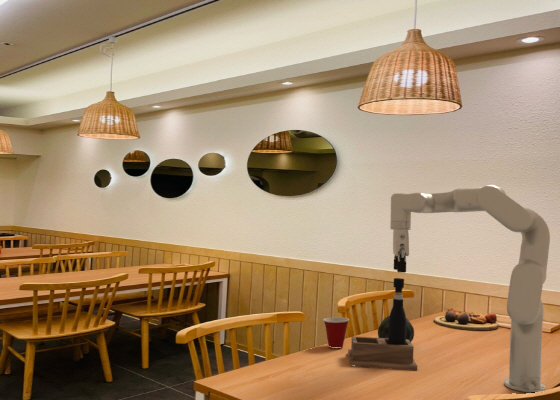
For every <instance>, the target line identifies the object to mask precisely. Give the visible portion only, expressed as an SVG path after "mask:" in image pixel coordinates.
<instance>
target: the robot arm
mask: <svg viewBox="0 0 560 400" xmlns="http://www.w3.org/2000/svg"><path fill="white" fill-rule="evenodd" d="M472 212H474V213H475V212H486V213H487V214H488V215H489V216H491V217H492V218H493V219H494V220H496V221H497V222H498V223H500V224H501V225H502V226H503V227H504V228H506V229H507V230H510V231H511V232H514V233H520V234H521V237H522V238H521V244H520V251H519V259H518V263H517V264H516V265H515V266H514V267H513V269H512V271H511V274H510V281H509V287H508V293H507V294H508V295H507V301H506V312H507V314H508V317H509V318H510V319H511V320H510V334H509V335H510V336H509V337H510V339H509V366H508V367H509V369H508V370H509V371H508V372H509V373H508V374H509V376H508V377H507V378H505V379H504V380H503V384H504V386H506V387H507V388H508V389H511V390H513V391H517V392H523V393H529V394H532V393H531V392H538V391H543V390H545V391H546V390H547V389H546V385H545V384H543V383H542V382H541V381H542V380H541V379H542V377H541V375H542V372H541V370H542V343H543V340H542V339H543V324H544V323H543V321H544V303H543V301H542V292H543V288H544V287H543V285H544V283H545V282H546V279H547V269H548V261H549V252H550V251H549V250H550V241H551V238H550V237H551V235H550V229H549V227H548V226H549V225H548V224H547V222H546V221H545V219H544V218H543V217H542V216H541V215H540V214H538V212H537V211H535V210H533V209H531V208H528V207H525V206H522V204H521V205H520V204H519V203H518V202H517V201H515V200H514V199H513V198H511V197H510V196H509V195H507V193H506V191H505V189H503V188H502V187H499V186H496V185H494V184H488V185H487V184H486V185H484V186H478V187H465V188H456V189H453V190H452V191H448V192H446V191H445V192H436V193H424V192H412V193H393V194H391V196H390V225H389V226H390V227H389V228H390V230H392V231H393V232H392V233H393V234H392V254H393V255H394V256H393V270H396V271H397V273H406V272H407V257H409V256H410V238H409V237H410V236H409V231H411V224H412V223H411V220H412V213H416V214H439V213H472Z"/></svg>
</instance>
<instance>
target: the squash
mask: <svg viewBox="0 0 560 400" xmlns="http://www.w3.org/2000/svg"><path fill="white" fill-rule="evenodd" d="M389 317H390V315H388V316H386V317H385V318H383V320H382V321H381V322H380V324H379V326H378V328H377V338H388V334H389ZM414 336H415V329H414V326H413V325H412V323H411V322H410V320H409V319H408V318H407V317H406V339H409V341H410V342H411V343H412V341H413V340H414V338H415V337H414Z"/></svg>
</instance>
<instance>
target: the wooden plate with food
mask: <svg viewBox="0 0 560 400" xmlns="http://www.w3.org/2000/svg"><path fill="white" fill-rule="evenodd" d="M497 321H498V317H497V314H496V313H494V312H489V313H487V314H486V315H485V316H484V315H483V314H481V313H472V314H471V313H469V314H467V313H466V311H465V312H464V311H463V312H462V311H458V313H456V309H454V308H453V307H452V308H450V309H449V308H448V309H447V311H445V315H440V316H436V317H434V319H433V322H434V323H435V324H436V325H438V326H442V327H445V328H450V329H455V330H456V329H457V330H463V331H464V330H466V331H490V330H491V331H492V330H496V329H498V328H499V323H498V322H497Z"/></svg>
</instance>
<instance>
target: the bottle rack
mask: <svg viewBox="0 0 560 400" xmlns="http://www.w3.org/2000/svg"><path fill="white" fill-rule="evenodd" d="M350 344H351V347H350V348H349V349H347V350H348V351H347V353H349V355H348V360H349V359H350V361H349V366H350V365H355V366H365V367H364V368H370V367H377V368H376V369H386V368H392V369H391V370H402V371H403V370H407V371H418V365H417V363H416V361H415V360H414V347H415V346H414V345H413V344H412V341H411V342H410V341H409V339H406V345H393V344H388V338H378V337H369V336H351V343H350Z"/></svg>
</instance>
